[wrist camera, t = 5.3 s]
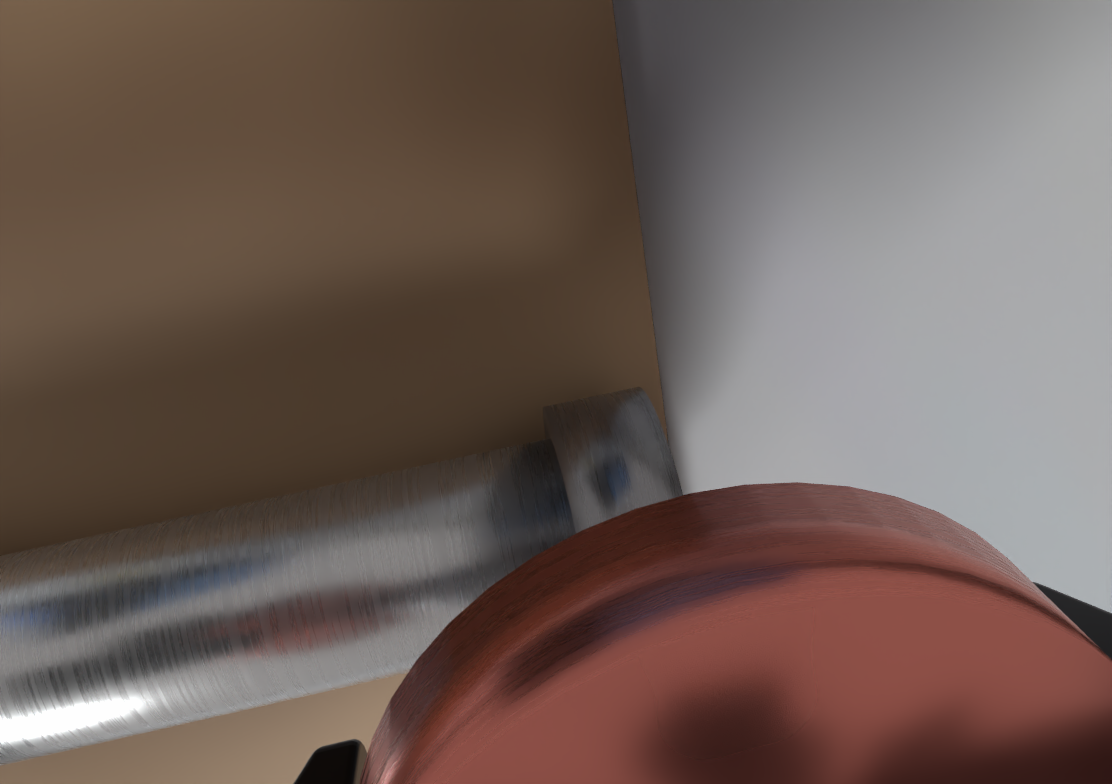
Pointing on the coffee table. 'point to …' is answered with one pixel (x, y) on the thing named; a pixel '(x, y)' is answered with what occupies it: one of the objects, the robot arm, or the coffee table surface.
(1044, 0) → the coffee table surface
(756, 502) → the silver and red piece
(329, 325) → the walnut board
